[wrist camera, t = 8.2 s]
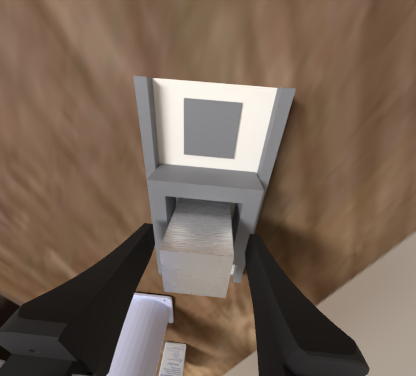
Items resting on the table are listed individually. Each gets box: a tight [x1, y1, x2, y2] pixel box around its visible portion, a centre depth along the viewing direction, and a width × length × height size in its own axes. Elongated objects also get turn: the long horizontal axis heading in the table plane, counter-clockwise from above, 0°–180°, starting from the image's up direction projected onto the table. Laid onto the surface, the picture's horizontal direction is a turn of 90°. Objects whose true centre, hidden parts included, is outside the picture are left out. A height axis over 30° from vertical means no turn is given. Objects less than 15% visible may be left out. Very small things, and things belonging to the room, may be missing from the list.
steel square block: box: [159, 198, 234, 298], centre depth 13 cm, size 4×4×7 cm
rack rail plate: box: [134, 76, 296, 283], centre depth 15 cm, size 10×20×4 cm, turn 176°
